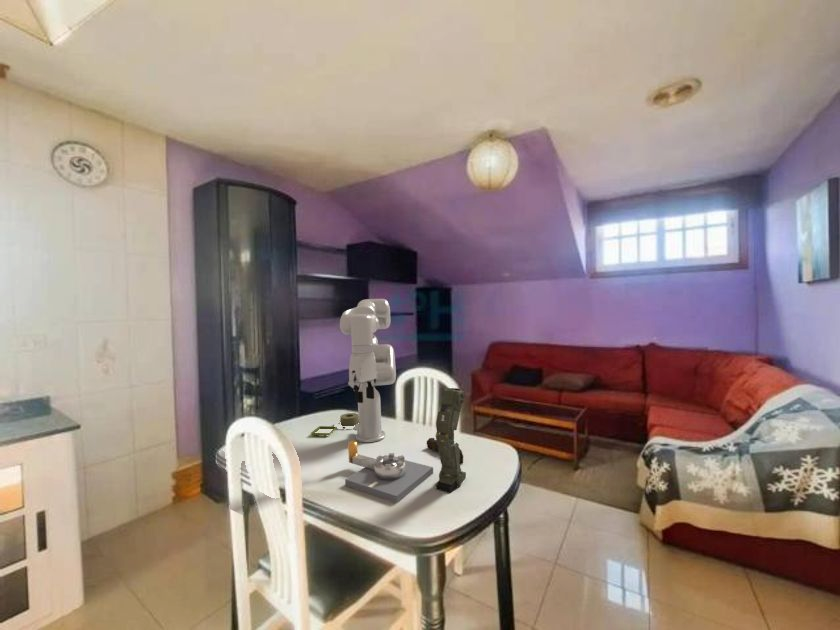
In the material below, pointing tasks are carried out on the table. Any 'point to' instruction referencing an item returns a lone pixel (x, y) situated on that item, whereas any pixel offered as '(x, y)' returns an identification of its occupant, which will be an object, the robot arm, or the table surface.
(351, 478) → the nut plate
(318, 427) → the green rectangular frame
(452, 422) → the mechanical leg
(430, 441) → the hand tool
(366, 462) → the crank handle
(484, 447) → the table surface
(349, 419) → the flange
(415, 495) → the table surface
